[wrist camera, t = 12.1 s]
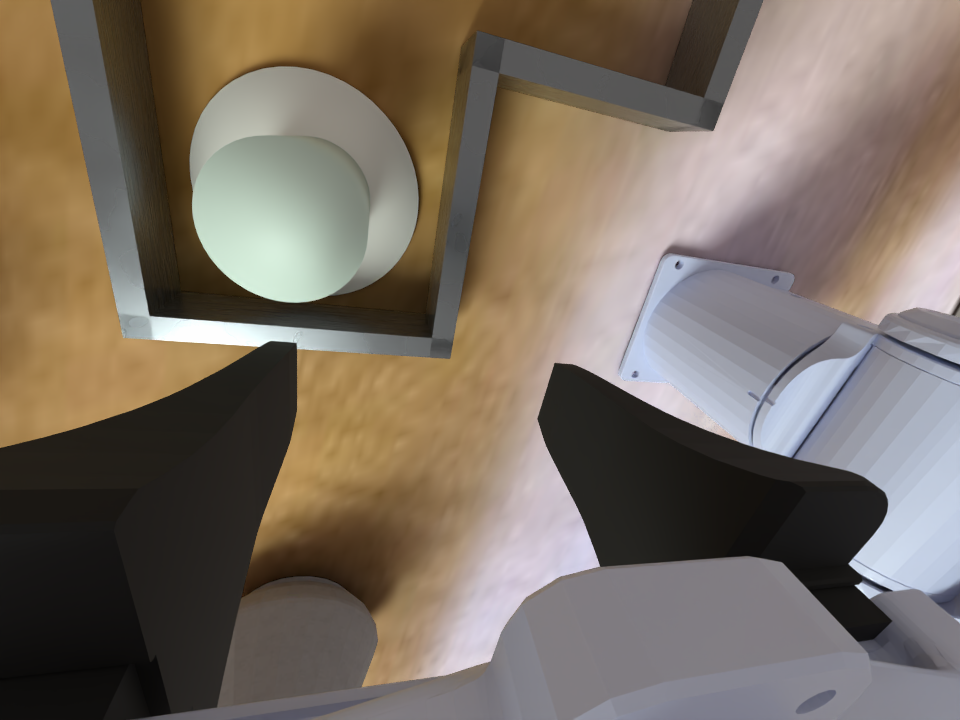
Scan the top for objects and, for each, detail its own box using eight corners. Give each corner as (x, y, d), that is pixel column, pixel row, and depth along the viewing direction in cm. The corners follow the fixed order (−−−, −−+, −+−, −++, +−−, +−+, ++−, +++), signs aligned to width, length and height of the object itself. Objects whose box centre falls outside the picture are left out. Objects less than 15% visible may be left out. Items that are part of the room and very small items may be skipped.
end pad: (430, 98, 17) (430, 98, 17) (407, 302, 21) (407, 305, 21) (177, 37, 15) (174, 36, 14) (205, 282, 18) (202, 284, 18)
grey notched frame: (814, -293, 14) (912, -388, 12) (596, 345, 25) (621, 369, 22) (-44, -883, 8) (-245, -1372, 5) (157, 309, 19) (123, 337, 16)
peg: (373, 148, 17) (372, 154, 11) (367, 254, 19) (363, 308, 13) (254, 125, 16) (180, 117, 10) (260, 241, 18) (202, 294, 12)
